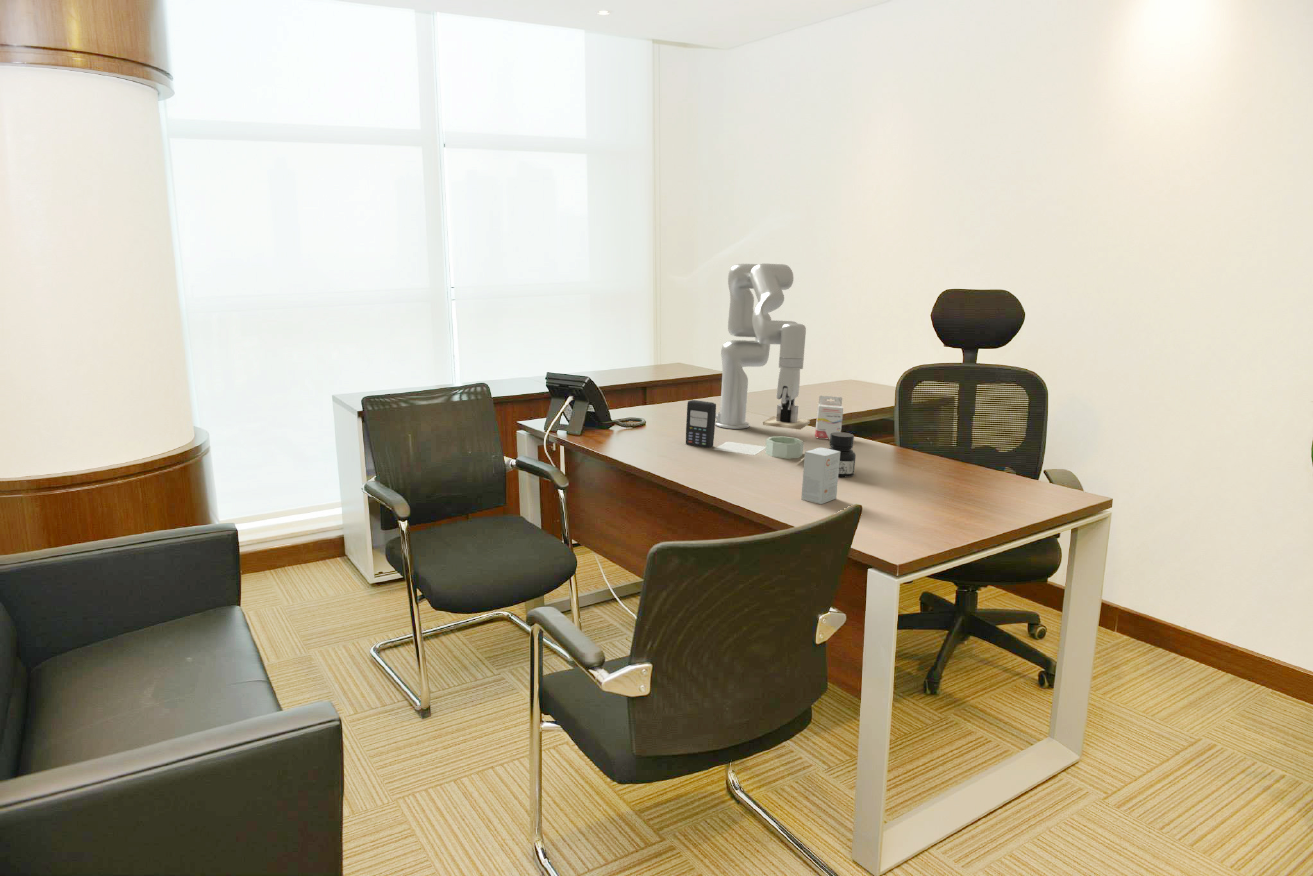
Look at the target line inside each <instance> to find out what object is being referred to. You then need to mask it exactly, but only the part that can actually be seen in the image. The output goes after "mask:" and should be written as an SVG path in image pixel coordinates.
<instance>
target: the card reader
mask: <svg viewBox="0 0 1313 876" xmlns="http://www.w3.org/2000/svg"><path fill="white" fill-rule="evenodd" d="M716 413H717V404H716V403H715V402H713V401H712V402H711V401H704V400H696V399H692V400H688V401H687V407H686V426H685V445H688V446H694V447H698V448H699V447H700V448H705V449H707V448H709V449H711V448H713V447H714V441H715V429H716V428H715V427H716V425H715V422H716V418H715V416H716Z"/></svg>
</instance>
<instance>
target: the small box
mask: <svg viewBox="0 0 1313 876" xmlns="http://www.w3.org/2000/svg"><path fill="white" fill-rule="evenodd" d="M839 462H840V451H836V450H832V449H829V448H826V447H817V448H814V449H809V450H807V451H804V459H803V471H802V472H803V473H802V484H801V485H802V487H801V500H802V501H807V502H811V503H814V504H819V505H823V504H826V503H828V502H831V501H833V500H836V499H837V493H838V482H839V477H838V474H839Z"/></svg>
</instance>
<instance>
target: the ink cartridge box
mask: <svg viewBox="0 0 1313 876" xmlns="http://www.w3.org/2000/svg"><path fill="white" fill-rule="evenodd" d="M818 398H819V399H818V404H817V411H816V423H815V431H814V432H815V434H814V435H815V438H816V437H818V438H830V434H831V433H833V432H842V424H843V415H844V406H843V405H842V404H843V402H842V401H843V397H841V396H832V395H819V397H818ZM831 400H833V401H831ZM818 438H817V439H818Z"/></svg>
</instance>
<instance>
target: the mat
mask: <svg viewBox="0 0 1313 876" xmlns="http://www.w3.org/2000/svg"><path fill="white" fill-rule="evenodd" d="M765 449H766V445H765V446H764V445H763V446H762V445H755V444H749V443H741V442H734V441H725V442H724V443H722V444H720V445H718V446H717V447H715V448H713V449H712V450H715V451H722V452H729V453H734V454H735V453H736V454H743V455H744V454H745V455H749V456H756V455H757V454H759V453H761V452H762V451H764V450H765Z"/></svg>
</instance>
